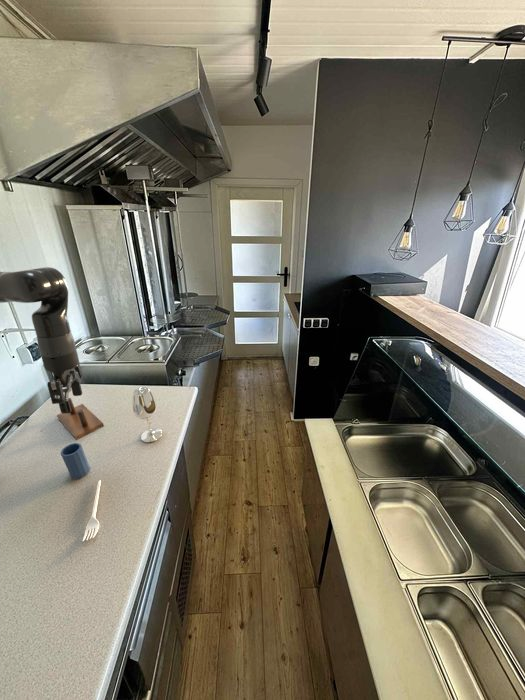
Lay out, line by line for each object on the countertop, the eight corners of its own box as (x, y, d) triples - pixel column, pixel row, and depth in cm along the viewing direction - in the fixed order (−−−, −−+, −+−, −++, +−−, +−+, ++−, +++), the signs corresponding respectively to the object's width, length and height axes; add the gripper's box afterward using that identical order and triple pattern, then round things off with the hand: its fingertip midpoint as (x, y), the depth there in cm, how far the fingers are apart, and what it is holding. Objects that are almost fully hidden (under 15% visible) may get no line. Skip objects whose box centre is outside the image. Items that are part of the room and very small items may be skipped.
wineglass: (137, 435, 108) (125, 391, 100) (157, 425, 113) (147, 382, 104) (145, 446, 103) (133, 401, 94) (166, 435, 108) (156, 391, 99)
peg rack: (76, 439, 107) (69, 422, 103) (57, 418, 118) (50, 401, 115) (103, 425, 114) (98, 408, 110) (83, 406, 125) (77, 390, 121)
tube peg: (74, 481, 90) (64, 458, 86) (68, 473, 93) (58, 450, 89) (92, 470, 94) (83, 448, 89) (85, 462, 97) (76, 440, 92)
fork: (105, 480, 90) (104, 476, 90) (96, 541, 74) (94, 537, 73) (94, 483, 89) (92, 479, 89) (82, 546, 73) (80, 542, 72)
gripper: (53, 340, 78) (67, 391, 84) (27, 362, 65) (45, 420, 72) (84, 338, 80) (95, 389, 86) (64, 360, 67) (78, 417, 73)
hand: (72, 403), depth 79 cm, fingers open, 8 cm apart
